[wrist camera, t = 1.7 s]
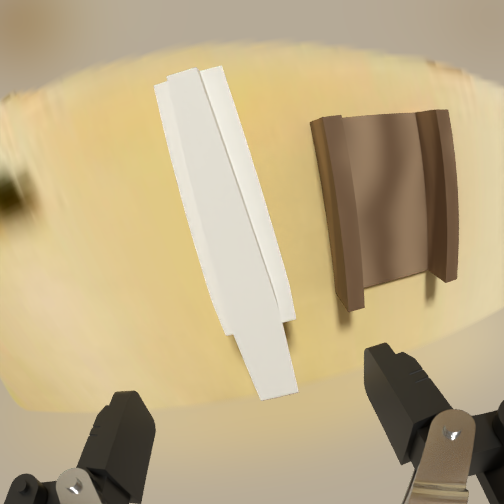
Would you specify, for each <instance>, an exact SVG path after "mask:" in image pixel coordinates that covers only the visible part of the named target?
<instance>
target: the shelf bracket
mask: <svg viewBox="0 0 504 504" xmlns="http://www.w3.org/2000/svg"><path fill="white" fill-rule="evenodd" d="M154 89H155V94H156V98H157V103H158V107H159V111H160V116H161V120H162V124H163V129H164V133H165V137H166V141H167V145H168V149H169V153H170V157H171V161H172V165H173V169H174V173H175V176H176V180H177V184H178V188H179V191H180V195H181V199H182V202H183V206H184V210H185V213H186V217H187V220H188V224H189V227H190V231H191V234H192V238H193V241H194V245H195V248H196V251H197V255H198V258H199V261H200V265H201V268H202V271H203V275H204V278H205V281H206V284H207V287H208V291H209V294H210V297H211V300H212V303H213V305H214V308H215V310H216V313H217V315H218V318H219V320H220V323H221V325H222V327H223V330H224V332H225V335H226V336H229V335H234V337H235V340H236V342H237V345H238V347H239V350H240V352H241V355H242V357H243V359H244V362H245V364H246V367H247V369H248V372H249V374H250V376H251V379H252V381H253V383H254V386H255V388H256V391H257V393H258V395H259V398H260V400H261V401H264V400H268V399H273V398H277V397H282V396H286V395H290V394H294V393H298V387H297V383H296V379H295V374H294V370H293V366H292V361H291V357H290V353H289V349H288V344H287V340H286V336H285V332H284V327H283V323H284V322H288V321H292V320H296V315H295V310H294V305H293V300H292V295H291V290H290V285H289V281H288V278H287V274H286V271H285V267H284V264H283V260H282V257H281V253H280V250H279V247H278V243H277V240H276V236H275V233H274V230H273V226H272V223H271V219H270V216H269V213H268V209H267V206H266V203H265V200H264V196H263V193H262V190H261V186H260V183H259V180H258V177H257V173H256V170H255V167H254V164H253V161H252V157H251V154H250V151H249V148H248V145H247V141H246V138H245V135H244V132H243V129H242V126H241V123H240V120H239V117H238V113H237V110H236V107H235V104H234V101H233V98H232V95H231V92H230V89H229V86H228V83H227V80H226V77H225V74H224V71H223V68H222V65H221V66H217V67H213V68H210V69H206V70H202V71H199V70H198V69H197V67H195V68H192V69H188V70H185V71H182V72H178V73H175V74H172V75H169V76H167V81H166V82H163V83H160V84H157V85H154Z"/></svg>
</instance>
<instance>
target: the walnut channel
mask: <svg viewBox="0 0 504 504" xmlns="http://www.w3.org/2000/svg"><path fill="white" fill-rule="evenodd" d="M310 125H311V130H312V135H313V140H314V145H315V150H316V156H317V161H318V167H319V172H320V178H321V184H322V190H323V196H324V203H325V209H326V216H327V223H328V230H329V238H330V245H331V253H332V262H333V270H334V279H335V289H336V294H337V295H338V297H339V298H340V300H341V301H342V303H343V304H344V306H345V307H346V309H347V310H348V312H350V311H354V310H358V309H362V308H365V306H364V288H365V287H369V286H372V285H376V284H380V283H384V282H387V281H391V280H395V279H398V278H402V277H405V276H409V275H412V274H416V273H419V272H423V271H426V270H428V271H430V272H431V273H433V274H434V275H435V276H437V277H438V278H440V279H441V280H442V281H444V282H445V283H447V282H450V281H453V280H456V279H457V268H458V245H459V210H458V187H457V173H456V162H455V153H454V145H453V137H452V130H451V124H450V118H449V112H448V110H429V111H423V112H416V113H396V114H380V115H367V116H356V117H346V118H342V116H341V115H337V116H329V117H322V118H319V119H317V120H314V121H312V122H310Z"/></svg>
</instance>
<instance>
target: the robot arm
mask: <svg viewBox="0 0 504 504" xmlns="http://www.w3.org/2000/svg"><path fill="white" fill-rule="evenodd" d="M364 385H365V390H366V393H367V396H368V398H369V400H370V402H371V404H372V406H373V408H374V410H375V412H376V414H377V416H378V418H379V420H380V422H381V424H382V426H383V428H384V430H385V432H386V435H387V436H388V439H389V441H390V443H391V445H392V447H393V449H394V451H395V453H396V455H397V458H398V460H399V462H400V464H401V465H403V464H405V463H408V462H410V461H411V462H412V464H413V466H414V468H415V469H414V472H413V474H412V477H411V481H410V483H409V486H408V489H407V491H406V494H405V496H404V499H403V501H402V504H467V502H468V497H469V492H468V490H466V483H467V478H468V476H471V475H475V474H476V476H477V478H478V480H479V482H480V484H481V486H482V488H483V490H484V492H485V494H486V497H487V498H488V501H489V503H490V504H504V400H503V402H502V403H501V404H500V406H499V409H498V410H497V411H493V412H489V413H484V414H480V415H475V416H471V415H470V414H468V413H467V412H465V411H463V410H458V409H453V408H452V407H451V406H450V404H449V403H448V402H447V400H446V399H445V398H444V396H443V395H442V394H441V392H440V391H439V390H438V388H437V387H436V386H435V384H434V383H433V382H432V380H431V379H430V378H428V375H427V374H426V372H425V371H424V370H422V367H421V366H420V365H419V363H418V362H417V361H416V359H415V358H413V357H411V356H409V355H408V354H406V353H404V352H401V353H398V354H395V353H394V352H393V350H392V349H391V347H390V346H389V345H388V344H387V343H382V344H379V345H376V346H373V347H369V348H366V349H365V351H364ZM155 431H156V429H155V423H154V420H153V418H152V416H151V414H150V413H149V411H148V409H147V408H146V406H145V404H144V402H143V401H142V399H141V397H140V396H139V394H138V393H137V392H136V391H121V392H115V393H114V395H113V397H112V400H111V402H110V405H107V406H105V407H104V408H103V409H102V411H101V412H100V413H99V414H98V415H97V417H96V420H95V422H94V425H93V428H92V429H91V432H90V436H89V437H88V439H87V442H86V444H85V447H84V449H83V452H82V455H81V457H80V460H79V462H78V465H77V467H76V468H71V469H68V470H66V471H64V472H63V473H62V474H61V475H60V476H59V478H58V479H57V481H52V482H44V483H40V482H39V481H38V480H37V479H36V478H35V477H34V476H33V475H31V474H22V475H20V476H18V477H17V478H15V480H14V481H13V482H12V484H11V487H10V489H9V492H8V494H7V497H6V500H5V502H4V504H129V503H137V504H141V501H142V496H143V490H144V485H145V480H146V475H147V470H148V465H149V460H150V456H151V451H152V446H153V442H154V437H155Z"/></svg>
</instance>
